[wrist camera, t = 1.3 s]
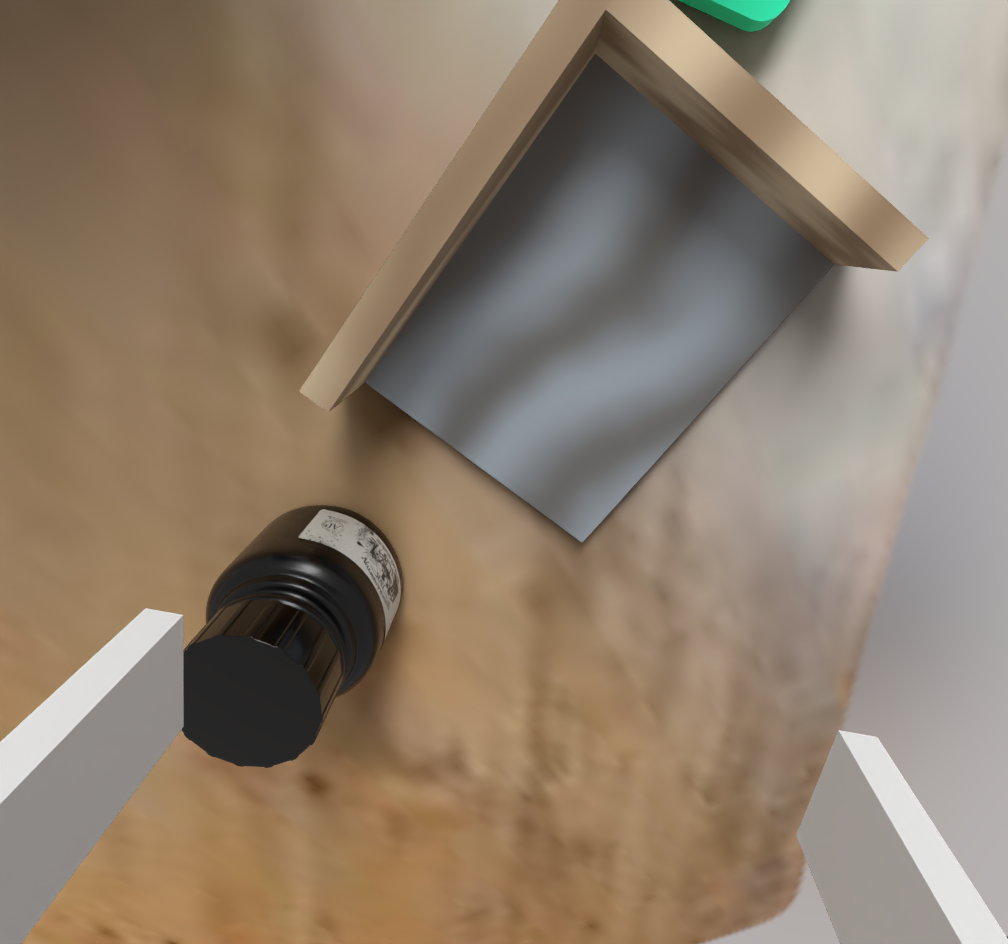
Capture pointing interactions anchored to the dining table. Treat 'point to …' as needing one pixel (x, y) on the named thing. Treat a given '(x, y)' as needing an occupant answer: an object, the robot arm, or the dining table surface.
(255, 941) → the dining table surface
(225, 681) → the ink bottle
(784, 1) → the camera mount
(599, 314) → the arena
